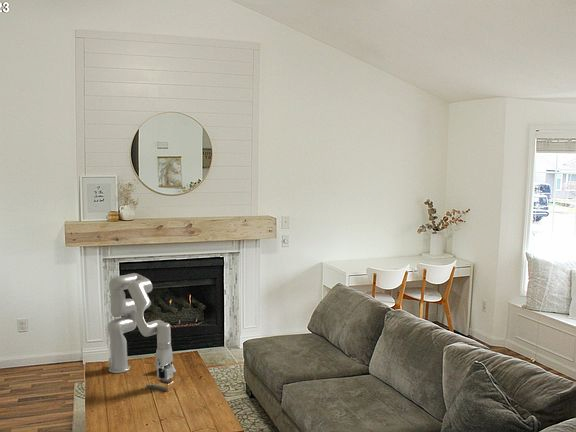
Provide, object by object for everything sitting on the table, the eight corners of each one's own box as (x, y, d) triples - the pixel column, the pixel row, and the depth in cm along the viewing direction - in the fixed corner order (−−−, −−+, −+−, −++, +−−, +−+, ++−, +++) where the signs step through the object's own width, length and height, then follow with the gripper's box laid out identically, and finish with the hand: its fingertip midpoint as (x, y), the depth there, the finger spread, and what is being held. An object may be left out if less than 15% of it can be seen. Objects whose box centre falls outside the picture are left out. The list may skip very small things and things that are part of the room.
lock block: (157, 377, 320) (156, 366, 320) (163, 374, 325) (163, 363, 324) (167, 379, 317) (166, 368, 316) (173, 376, 322) (172, 365, 321)
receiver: (145, 387, 319) (145, 382, 319) (161, 379, 332) (161, 373, 331) (166, 392, 313) (166, 386, 312) (182, 383, 325) (182, 377, 325)
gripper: (168, 339, 328) (169, 369, 330) (148, 348, 313) (149, 380, 315) (178, 341, 325) (179, 372, 327) (159, 350, 310) (160, 382, 312)
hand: (165, 375), depth 321 cm, fingers closed on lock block, 5 cm apart
